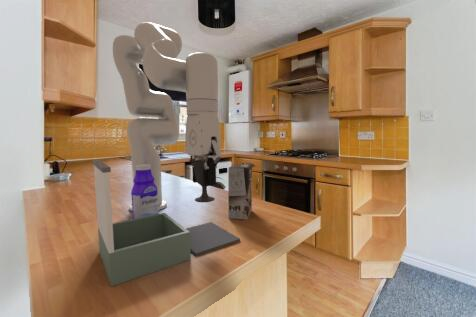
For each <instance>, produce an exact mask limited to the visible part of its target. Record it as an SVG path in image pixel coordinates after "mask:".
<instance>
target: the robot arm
mask: <svg viewBox="0 0 476 317" xmlns="http://www.w3.org/2000/svg"><path fill="white" fill-rule="evenodd" d="M133 33H134V34H133V36H132V35H128V34H127V35H126V34H121V35H118V36H116V37H115V38H114V40H113V42H112V57H113V61H114V65H115V67H116V69H117V72H118V74H119V75H120V78H121V80H122V84H123V90H124V95H125V96H124V97H125V101H126V102H125V103H126V106H127V110H128V112H129V114H131V115H132V116H133V117H138V118H135V119H131V120H130V121H129V122H128V124H127V126H126V133H127V137H128V142H129V143H128V144H129V148H130V154H131V170H132V171H131V172H132V187H133V186H134V184H135V183H134V182H133V180H134V178H135V174H136V165H141V164H150V165H151V173H152V176H153V177H154V183H155V185H156V187H157V191H158V211H160V210H162V209H164V208H166V207H167V201H165V200H164V199H163V194H162V193H163V192H162V191H163V190H162V162H161V157H160V154H159V152H158V151H157V150H156V149H155V147H156V146H170V145H171V146H172V145H174V144H176V143H177V142H178V140H179V136H180V130H179V124H178V120H177V115H176V111H175V106H174V103H173V100H172V97H171V96H170V95H169V94H167V93H165V92H161V91H155V90H152V89H151V88H150V84H149V81H150V83H151V84H152V85H154V86H155V87H156V88H159V89H161V90H167V91H177V92H182V93H185V98H186V115H187V116H186V123H185V145H184V146H185V154H186V155H188V156H189V157H190V159H194V156H198V157H203V160H204V167H205V169H203V185H204V186H207V187H210V186H216V185H217V168H218V164H219V161H220V159H221V158H222V153H221V144H222V143H221V132H220V131H221V128H220V121H219V82H218V81H219V79H218V76H219V75H218V69H219V68H218V60H217V58H216V57H215V56H214V55H213V54H211V53H206V52H194V53H190V54H189V55H187V57H186V58H185V60H182V59H178V58H177V57H178V56H180V54H181V51H182V48H183V42H182V38H181V35H180V34H179V33H178V32H177V31H175V30H174V29H172V28H169V27H165V26H163V25H160V24H156V23H153V22H148V21H145V22H141V23H139V24H138V25H137V26H136V27H135V29H134V32H133ZM137 64H140V65H142V68H143V70H142V69H141V68H140V67H139V66H138V65H137ZM154 146H155V147H154ZM208 153H213V155H208V156H207V154H208ZM208 159H210V160H209V162H208ZM191 167H192V168H191V169H192V183H197V181H196V178H195V172H194V166H193V164H192V163H191ZM128 208H129V211H130V212H133V210H132V203H130V204H129V207H128Z"/></svg>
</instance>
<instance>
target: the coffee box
mask: <svg viewBox="0 0 476 317" xmlns="http://www.w3.org/2000/svg"><path fill="white" fill-rule="evenodd" d="M227 176H228V179H227V180H228V183H227V184H228V186H227V187H228V195H227V196H228V213H227V214H228V217H227V218H229V219H236V220H237V219H238V220H248V219H249V217H250V216H251V213H252V210H253V198H252V197H253V194H252V193H253V183H252V182H253V179H252V178H253V165H252V164H247V163H246V164H233V165H231V166H230V167H228V175H227Z"/></svg>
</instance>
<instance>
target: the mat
mask: <svg viewBox="0 0 476 317" xmlns="http://www.w3.org/2000/svg"><path fill="white" fill-rule="evenodd" d="M185 229H187V230H188V231H189V232H190V253H192V254H193V255H194V256H196V257H198V256H200V255H204V254H207V253H209V252H212V251H215V250H218V249H221V248H224V247H227V246H230V245H233V244H236V243H238V242H241V238H240V237H238V236H237V235H234V234H233V233H231V232H229V231H227V230H226V229H224V228H223V227H221V226H219V225H217V224H216V223H214V222H212V221H210V222H206V223H202V224H198V225H194V226H191V227H186V228H185Z"/></svg>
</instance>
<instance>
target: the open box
mask: <svg viewBox="0 0 476 317" xmlns="http://www.w3.org/2000/svg"><path fill="white" fill-rule="evenodd" d="M91 163H92V164H93V177H94V188H95V202H96V217H97V232H98V234H97V235H98V247H99V254H100V258H101V260H102V263H103V267H104V269H105V272H106V276H107V279H108V282H109V284H110V287H115V286H117V285H120V284H122V283H125V282H128V281H132V280H134V279H138V278H140V277H143V276H146V275H149V274H152V273H156V272H157V271H160V270H163V269H167V268H169V267H174V266H175V265H178V264H181V263H184V262H187V261H190V260H191V253H192V252H191V251H190V232H189V231H188V230H187V229H186V228H185V227H184V226H183V225H182V224H180V223H179V222H177V221H176V220H175V219H174V218H173V217H171V216H170V215H169V214H167V213H166V212H162V213H159V214H157V215H152V216H147V217H142V218H137V219H133V218H132V219H128V220H123V221H118V222H113V211H112V210H113V209H112V196H111V195H112V194H111V192H112V191H111V177H110V176H111V175H110V173H112V171H111V170H112V169H111V166H109V165H108V164H106V163H105V162H103V161H101V159H92V162H91Z"/></svg>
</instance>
